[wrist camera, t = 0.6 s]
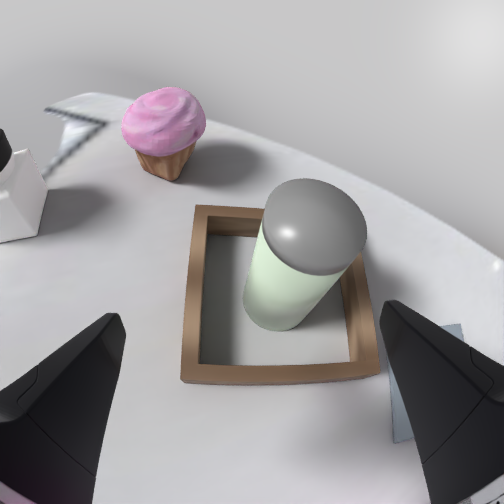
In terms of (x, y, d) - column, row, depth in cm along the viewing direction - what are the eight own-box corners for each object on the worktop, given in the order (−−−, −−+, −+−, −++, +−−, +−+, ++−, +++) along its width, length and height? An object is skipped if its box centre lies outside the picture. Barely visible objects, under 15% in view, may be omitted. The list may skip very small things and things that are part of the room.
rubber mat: (469, 415, 21) (472, 415, 21) (393, 443, 20) (396, 443, 20) (457, 325, 27) (460, 323, 27) (383, 333, 26) (386, 331, 25)
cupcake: (118, 178, 31) (100, 107, 23) (159, 137, 36) (153, 71, 27) (180, 203, 30) (174, 126, 22) (217, 156, 35) (223, 85, 26)
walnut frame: (363, 378, 23) (380, 373, 21) (184, 383, 21) (180, 378, 19) (342, 233, 31) (352, 216, 29) (196, 223, 29) (195, 204, 27)
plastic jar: (311, 331, 25) (376, 267, 15) (242, 330, 24) (267, 262, 14) (305, 270, 28) (354, 184, 18) (242, 268, 28) (263, 173, 17)
